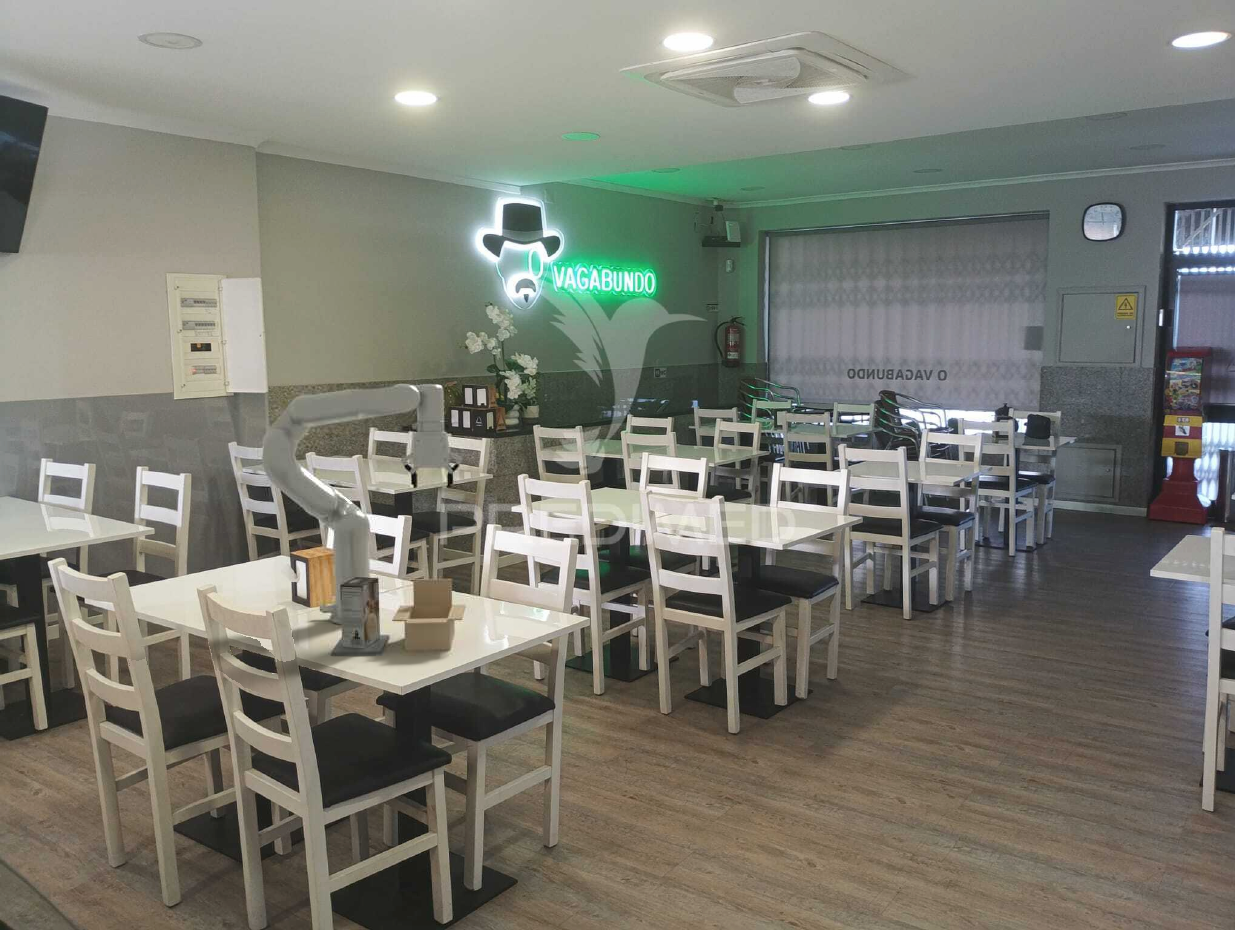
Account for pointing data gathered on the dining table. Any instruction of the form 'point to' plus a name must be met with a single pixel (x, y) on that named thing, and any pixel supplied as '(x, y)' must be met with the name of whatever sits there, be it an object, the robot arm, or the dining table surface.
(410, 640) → the carton
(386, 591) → the dining table surface
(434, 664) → the dining table surface
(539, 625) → the dining table surface
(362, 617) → the coffee box
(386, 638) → the tray
